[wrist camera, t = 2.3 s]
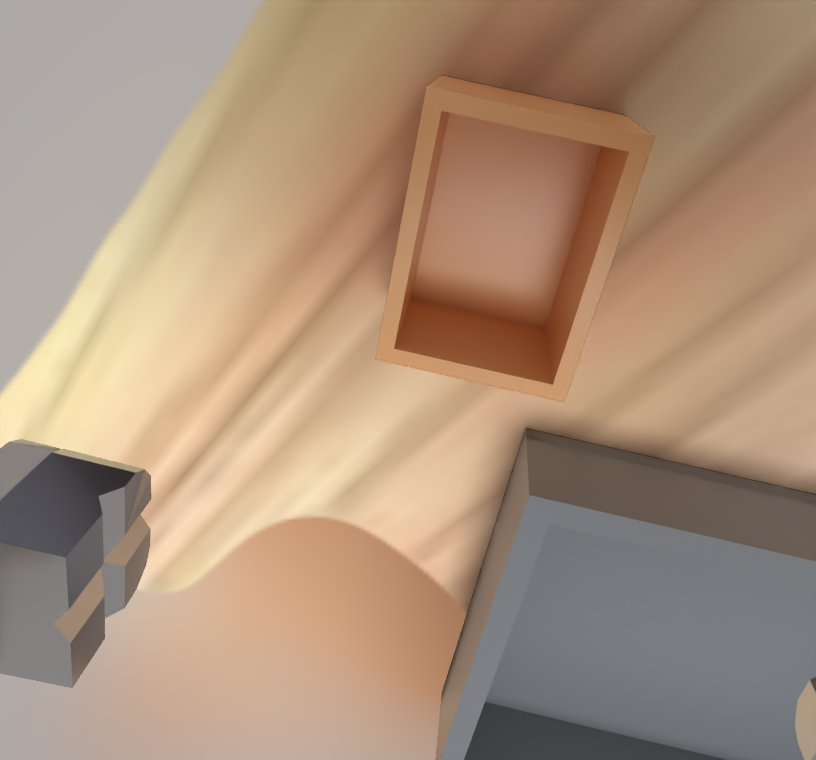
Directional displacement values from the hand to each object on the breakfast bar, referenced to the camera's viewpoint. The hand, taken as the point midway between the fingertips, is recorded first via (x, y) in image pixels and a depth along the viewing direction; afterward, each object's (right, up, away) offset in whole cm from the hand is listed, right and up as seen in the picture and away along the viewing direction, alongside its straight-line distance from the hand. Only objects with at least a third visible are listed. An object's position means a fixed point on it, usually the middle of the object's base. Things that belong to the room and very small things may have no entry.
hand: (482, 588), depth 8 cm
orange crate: (+2, +8, +16) cm, 18 cm away
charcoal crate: (+12, -9, +23) cm, 27 cm away
